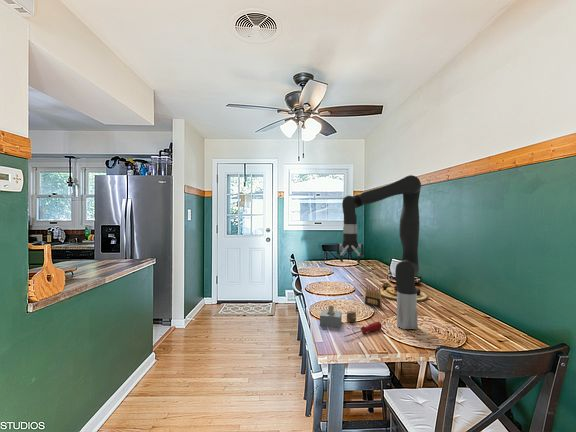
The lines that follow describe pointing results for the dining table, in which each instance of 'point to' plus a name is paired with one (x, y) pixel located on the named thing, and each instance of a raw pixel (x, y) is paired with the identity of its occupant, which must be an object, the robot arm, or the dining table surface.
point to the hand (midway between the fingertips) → (350, 262)
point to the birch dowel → (330, 309)
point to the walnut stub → (351, 316)
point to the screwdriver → (368, 328)
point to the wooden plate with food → (392, 293)
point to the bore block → (330, 318)
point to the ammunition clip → (373, 297)
